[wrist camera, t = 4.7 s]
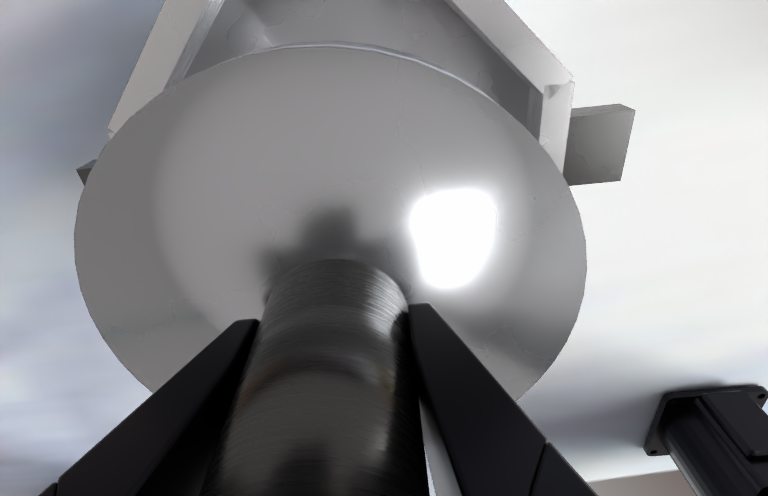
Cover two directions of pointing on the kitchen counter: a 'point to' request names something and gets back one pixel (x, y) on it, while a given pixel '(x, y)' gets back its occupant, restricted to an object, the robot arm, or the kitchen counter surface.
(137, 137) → the lid
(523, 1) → the kitchen counter surface
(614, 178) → the pot
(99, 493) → the robot arm
